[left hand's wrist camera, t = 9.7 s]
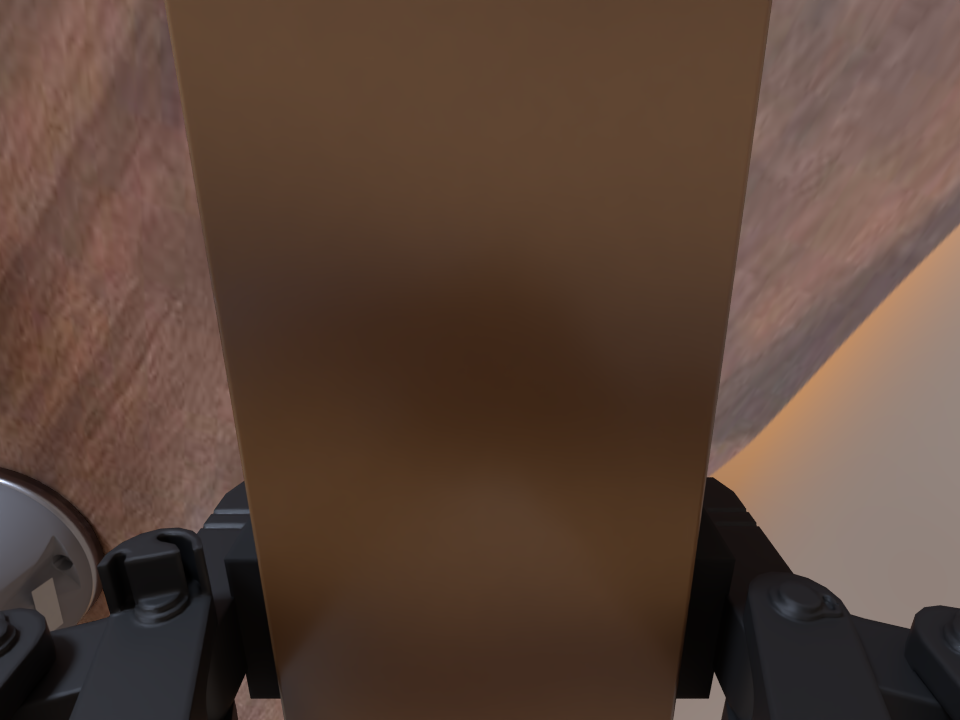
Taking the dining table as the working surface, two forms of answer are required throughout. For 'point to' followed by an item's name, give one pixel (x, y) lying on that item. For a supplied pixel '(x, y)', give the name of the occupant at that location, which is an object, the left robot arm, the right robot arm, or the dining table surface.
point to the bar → (473, 333)
